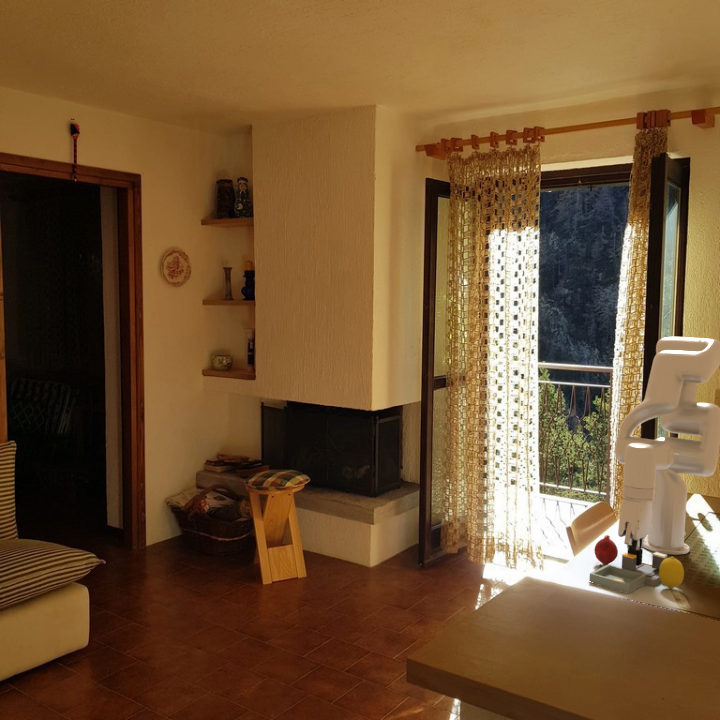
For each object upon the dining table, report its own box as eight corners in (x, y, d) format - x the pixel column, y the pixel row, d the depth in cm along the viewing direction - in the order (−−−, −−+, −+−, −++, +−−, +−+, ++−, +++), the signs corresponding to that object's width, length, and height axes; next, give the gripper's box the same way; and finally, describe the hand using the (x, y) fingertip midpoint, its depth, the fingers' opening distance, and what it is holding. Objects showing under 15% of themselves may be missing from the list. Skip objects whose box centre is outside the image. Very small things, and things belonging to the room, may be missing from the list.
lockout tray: (607, 572, 190) (608, 564, 190) (645, 583, 183) (646, 574, 183) (589, 582, 183) (589, 573, 183) (628, 593, 176) (629, 584, 176)
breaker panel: (636, 566, 195) (636, 559, 195) (671, 575, 189) (671, 569, 189) (617, 576, 187) (618, 569, 187) (653, 586, 181) (653, 579, 181)
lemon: (685, 594, 177) (687, 561, 176) (660, 592, 178) (662, 559, 177) (680, 586, 182) (682, 554, 182) (656, 583, 183) (658, 551, 183)
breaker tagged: (625, 566, 189) (625, 552, 188) (635, 569, 187) (636, 555, 186) (621, 568, 187) (622, 554, 187) (632, 571, 185) (633, 557, 185)
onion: (613, 570, 192) (615, 540, 191) (591, 565, 195) (592, 535, 194) (619, 564, 197) (620, 534, 196) (596, 559, 200) (598, 530, 199)
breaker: (655, 565, 190) (655, 552, 190) (666, 568, 188) (667, 554, 188) (651, 567, 189) (652, 553, 188) (663, 570, 187) (663, 556, 186)
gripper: (636, 485, 196) (632, 553, 197) (611, 494, 185) (606, 566, 186) (665, 490, 191) (660, 561, 192) (640, 500, 180) (636, 574, 181)
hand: (634, 563), depth 189 cm, fingers closed
